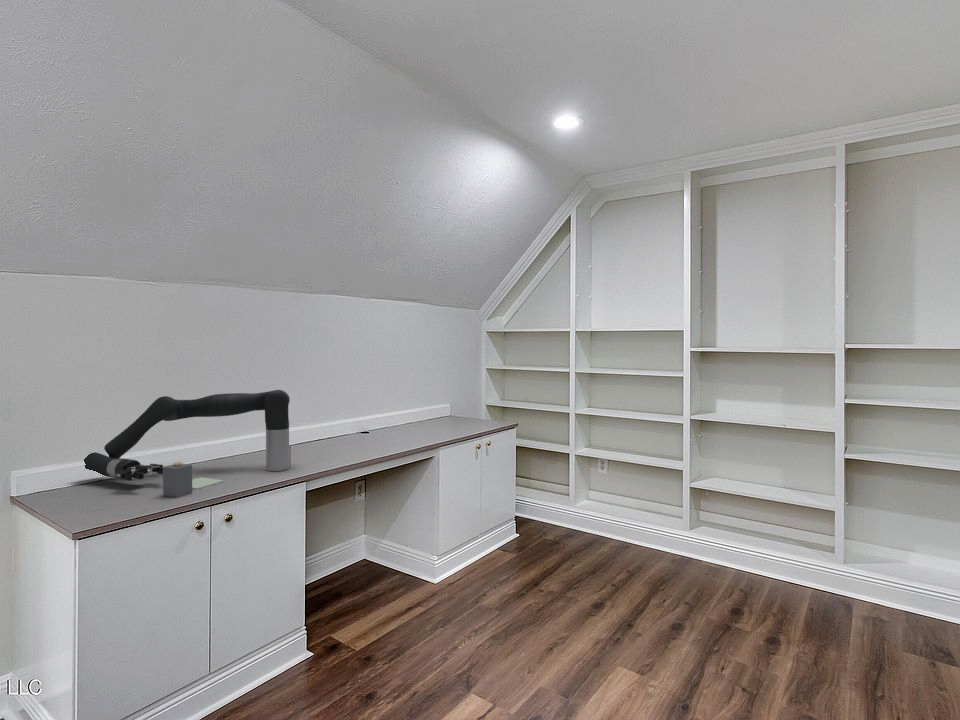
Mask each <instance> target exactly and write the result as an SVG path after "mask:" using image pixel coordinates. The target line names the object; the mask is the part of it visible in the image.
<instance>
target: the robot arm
mask: <svg viewBox="0 0 960 720" xmlns="http://www.w3.org/2000/svg"><path fill="white" fill-rule="evenodd" d="M289 405H290V396H289V394H288V393H287V392H286V391H285V390H282V389H274V390H269V391H264V392H257V393H256V392H255V393H254V392H253V393H247V392H246V393H244V392H243V393H242V392H240V393H239V392H237V393H233V392H232V393H218V394H211V395H207V396H203V397H199V398H196V399H175V398H173V397H171V396H169V395H167V396H166V395H164V396H160V397H158V398H157V399H155V400H154V401H153V402H152V403H151V404H150V405H149V406H148V408H146V410H145V411H144V412H142V414H140V415H139V417H138V418H137V419H136V420H134V421H133V422H132V423H131V424H130V425H128V426H127V427H126V428H125V429H124V430H122V431H121V432H120V433H119V434H118V435H116V436H115V437H113V438H112V439H111V440H109V441H108V442H107V443H106V444H105V445H104V448H103V449H104V451H105V452H106V453H107V455H105V454H102V453H99V452H94V451H93V452H94V453H91V452H90V453H91V454H89V455H88V456H87V457H86V458H85V459H84V462H85V464H86V465H85V468H86V469H89V470H93V471H96V472H98V473H100V474H102V475H104V476H103V477H108V478H114V479H116V480H122V481H128V482H129V481H134V480H135V479H136V480H144V479H145V477H144V476H152V475H153V474H159V475H163V467H164V464H159V463H158V464H156V463H150V464H141V463H140V461H138V460H136V459H131V458H129V459H128V458H123V457H122V456H124V455H125V454H126V453H127V452H128V451H130V450H131V449H132V448H133V447H135V446H136V445H137V444H138V443H139V441H140V440H141V439H142V438H143V437H144V436H145V435H146V433H147V432H148V431H150V429H151V428H152V427H154V426H156V425H157V424H159V423H161V422H162V421H164V422H172V421H177V420H182V419H183V420H184V419H190V418H216V417H229V416H236V415H241V414H245V413H250V412H254V411H264V423H265V470H266V471H268V472H280V471H287V470H288V469H290V468H292V448H291V447H292V446H291V444H290V420H289ZM108 455H109V457H108Z"/></svg>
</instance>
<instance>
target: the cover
mask: <svg viewBox="0 0 960 720" xmlns="http://www.w3.org/2000/svg"><path fill="white" fill-rule="evenodd" d="M192 480H193V464H189V463H182V461H181V462H180V461H179V462H178V461H177V462H173V464H169V465H165V466H164V465H163V474H162V496H164V497H169V498H170V497H171V498H180V497H182V496H186V495H190V494H193V489H192Z"/></svg>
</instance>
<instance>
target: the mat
mask: <svg viewBox="0 0 960 720" xmlns="http://www.w3.org/2000/svg"><path fill="white" fill-rule="evenodd" d="M224 482H225V480H222V479H215V478H210V477H198V478H192V490H200V489H203V488H207V487H210V486H214V485H217V484H221V483H224Z"/></svg>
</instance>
